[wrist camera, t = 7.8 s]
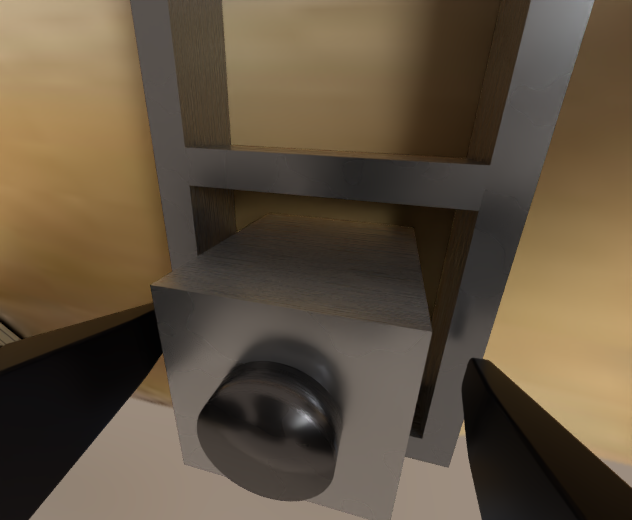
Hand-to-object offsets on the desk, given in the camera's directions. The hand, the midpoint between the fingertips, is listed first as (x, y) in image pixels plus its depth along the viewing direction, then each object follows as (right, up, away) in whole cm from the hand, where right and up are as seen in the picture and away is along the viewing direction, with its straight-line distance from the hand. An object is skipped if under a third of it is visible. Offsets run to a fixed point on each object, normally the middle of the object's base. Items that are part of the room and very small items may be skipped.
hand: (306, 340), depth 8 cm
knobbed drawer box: (+1, +1, +3) cm, 4 cm away
